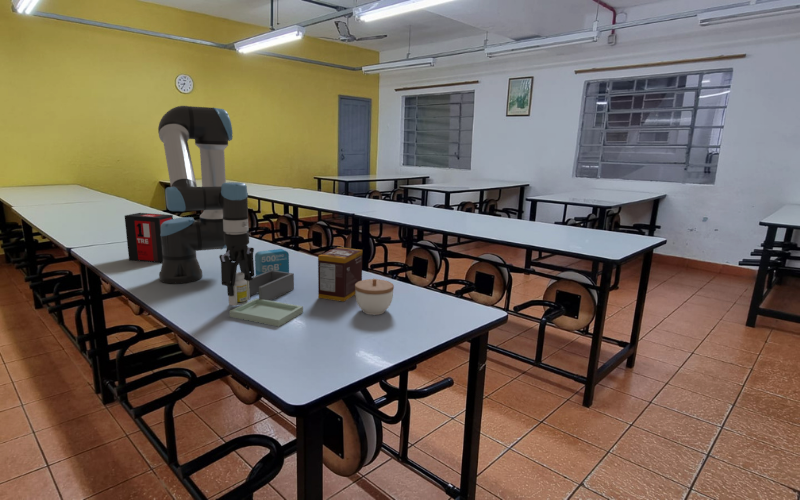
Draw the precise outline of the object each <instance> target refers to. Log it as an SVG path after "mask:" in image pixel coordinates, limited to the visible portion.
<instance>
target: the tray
mask: <svg viewBox="0 0 800 500" xmlns="http://www.w3.org/2000/svg"><path fill="white" fill-rule="evenodd" d="M303 313H304V306H303V305H297V304H291V303H285V302H280V301H275V300H264V299H259V297H257V298H254V299H252V300H250V301H249V300H248V302H247V303H245V304H242V305H238V306H237V307H236V306H235V307H234V308H233V309H231V310H229V317H230V318H234V319H238V320H243V319H244V321H248V320H249V321H248V322H253V321H254V322H255V323H258V322H259V323H260V324H263V323H264V324H265V325H269V326H274V327H282V325H284V324H286V323H287V322H289V321H291V320H293V319H294V318H296V317H298V316H300V315H301V314H303Z"/></svg>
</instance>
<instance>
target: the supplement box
mask: <svg viewBox="0 0 800 500" xmlns="http://www.w3.org/2000/svg"><path fill="white" fill-rule="evenodd" d="M317 269H318V270H317V277H318V279H317V281H318V283H317V284H318V286H317V287H318V290H317V291H318V293H317V294H318V296H317V297H318V298H319V299H325V300H330V301H338V302H343V303H344V302H346V301H348V300H349V299H351V298H352V297H353V296H356V295H355V284H356V283H357V282H359V281H362V280H363V249H358V248H357V249H356V248H348V247H341V246H340V247H339V246H337V247H334V248H333V249H330V250H328V251H326V252H323V253H322V254H319V255H318V256H317Z"/></svg>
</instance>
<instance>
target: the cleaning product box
mask: <svg viewBox="0 0 800 500" xmlns="http://www.w3.org/2000/svg"><path fill="white" fill-rule="evenodd" d="M171 219H174V215H173V214H165V213H163V214H161V213H160V214H159V213H147V212H135V213H132V214H131V213H130V214H125V215H124V223H125V224H124V225H125V233H126V243H127V244H126V245H127V252H128V261H132V262H144V263H153V264H162V263H163V253H162V239H161V236H160V234H161V224H162V223H163V222H165V221H167V220H171Z"/></svg>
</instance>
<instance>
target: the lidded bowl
mask: <svg viewBox="0 0 800 500" xmlns="http://www.w3.org/2000/svg"><path fill="white" fill-rule="evenodd" d="M394 288H395V286H394V283H392V282H391V281H389V280H385V279H377V278H370V279H362V281H359V282H357V283H356V284H355V295H354V296H355V300H356V304H357V306H358V307H359V309H360V310H362V311H363V313H364V314H366V315H369V316H378V315H379V316H380V315H382V314H384V313H385V311H387V310H388V309H389V307H390V306H391V304H392V302H393V298H394V297H393V296H394Z"/></svg>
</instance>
